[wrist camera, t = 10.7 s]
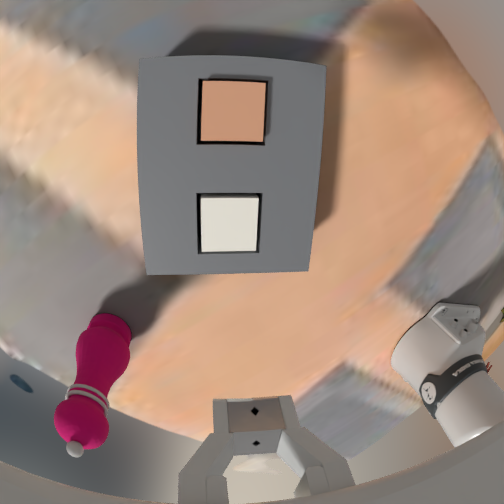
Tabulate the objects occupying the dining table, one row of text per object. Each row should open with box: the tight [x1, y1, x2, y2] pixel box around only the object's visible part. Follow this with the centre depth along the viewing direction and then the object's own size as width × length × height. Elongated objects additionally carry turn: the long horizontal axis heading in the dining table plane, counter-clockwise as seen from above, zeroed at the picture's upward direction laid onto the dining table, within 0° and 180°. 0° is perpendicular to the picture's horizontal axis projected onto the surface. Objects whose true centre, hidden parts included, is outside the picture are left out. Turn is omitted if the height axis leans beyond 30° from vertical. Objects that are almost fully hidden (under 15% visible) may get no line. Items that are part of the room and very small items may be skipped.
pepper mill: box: [54, 313, 131, 457], centre depth 28 cm, size 7×7×20 cm
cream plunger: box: [201, 193, 259, 252], centre depth 29 cm, size 5×5×5 cm
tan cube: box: [201, 81, 266, 142], centre depth 24 cm, size 5×5×5 cm
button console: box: [137, 55, 326, 275], centre depth 28 cm, size 16×20×6 cm
